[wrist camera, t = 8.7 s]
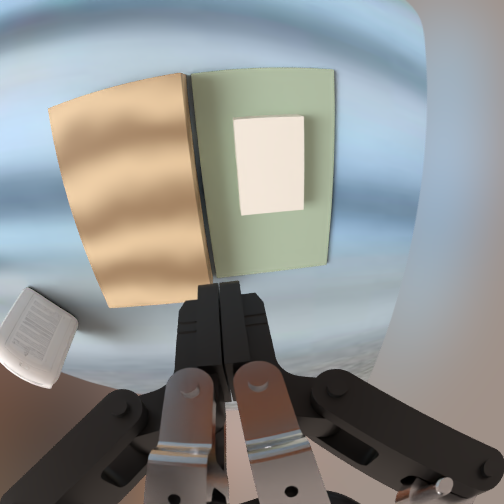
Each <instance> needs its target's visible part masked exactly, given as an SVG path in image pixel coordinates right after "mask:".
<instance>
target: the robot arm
mask: <svg viewBox="0 0 504 504" xmlns="http://www.w3.org/2000/svg"><path fill="white" fill-rule="evenodd" d="M219 287H220V291H219ZM177 333H178V334H177V342H176V356H175V370H174V374H173V375H172V376H171V377H170V378H169V380H168V382H167V384H166V385H165V386H163V387H162V388H160V389H158V390H156V391H153V392H150V393H147V394H144V395H140V396H138V395H137V394H136V393H134V392H132V391H130V390H126V389H119V390H115V391H113V392H111V393H109V394H108V395H107V396H106V397H105V398H104V399H103V400H102V401H101V402H100V403H98V404H97V405H96V406H95V407H94V408H93V409H92V410H91V411H90V412H89V413H88V414H87V415H86V416H85V417H84V418H83V419H82V420H81V421H80V422H79V423H78V424H77V425H76V426H75V427H74V428H73V429H72V430H70V432H68V433H67V434H66V435H65V436H64V437H63V438H62V439H61V440H60V441H59V442H58V443H57V444H56V445H55V446H54V447H53V448H52V449H51V450H50V451H49V452H48V453H47V454H46V455H45V456H43V457H42V459H40V460H39V461H38V462H37V463H36V464H35V465H34V466H33V467H32V468H31V469H30V470H29V471H28V472H27V473H26V474H25V475H24V476H23V477H22V478H21V479H20V480H19V481H18V482H17V483H15V484H14V485H13V486H12V487H11V488H10V489H9V490H8V491H7V492H6V493H5V494H4V495H3V496H2V498H1V501H0V504H118V503H119V502H120V501H121V500H122V499H123V498H124V497H125V496H126V495H127V494H128V493H129V491H131V490H132V489H133V488H134V486H136V484H137V483H138V482H139V481H140V480H141V479H142V478H143V477H144V476H145V475H146V483H145V494H144V504H229V484H228V483H229V482H228V476H227V468H226V413H225V412H226V411H225V402H232V401H231V393H232V397H233V401H237V405H238V410H239V415H240V419H241V424H242V429H243V433H244V438H245V442H246V447H247V452H248V457H249V461H250V466H251V470H252V474H253V478H254V482H255V487H256V491H257V495H258V498H256V499H254V500H250V501H248V502H244V503H241V504H360V503H358V502H357V501H355V500H353V499H351V498H349V497H347V496H345V495H342V494H339V493H336V492H332V491H327V490H326V489H325V486H324V483H323V480H322V477H321V474H320V471H319V469H318V466H317V463H316V460H315V457H314V454H313V451H312V449H311V446H310V443H309V442H308V440H307V438H306V437H305V436H307V437H308V438H310V439H311V440H312V441H314V442H315V443H317V444H318V445H320V446H321V447H323V448H324V449H326V450H327V451H329V452H331V453H332V454H334V455H335V456H337V457H338V458H340V459H341V460H343V461H345V462H346V463H348V464H350V465H351V466H353V467H355V468H356V469H358V470H360V471H361V472H363V473H365V474H366V475H368V476H370V477H372V478H373V479H375V480H377V481H379V482H381V483H383V484H385V485H386V486H388V487H390V488H392V489H394V490H396V491H398V493H397V495H396V499H395V504H473V502H474V500H475V498H476V496H477V495H479V494H481V493H483V492H486V491H488V490H490V489H492V488H494V487H495V486H496V485H497V484H498V483H499V482H500V480H501V478H502V476H503V474H504V458H503V456H502V454H501V453H500V452H499V451H498V450H497V449H495V448H492V447H490V446H488V445H486V444H484V443H482V442H479V441H477V440H475V439H473V438H471V437H469V436H467V435H465V434H463V433H460V432H458V431H456V430H454V429H452V428H450V427H448V426H446V425H444V424H443V423H440V422H439V421H437V420H434V419H433V418H431V417H429V416H427V415H425V414H423V413H421V412H419V411H417V410H416V409H414V408H412V407H410V406H408V405H406V404H404V403H403V402H401V401H399V400H397V399H395V398H393V397H392V396H390V395H388V394H386V393H385V392H383V391H381V390H379V389H377V388H376V387H374V386H372V385H370V384H369V383H367V382H365V381H363V380H362V379H360V378H358V377H357V376H355V375H353V374H351V373H350V372H348V371H345V370H341V369H331V370H327V371H325V372H323V373H321V374H320V375H319V376H317V378H313V377H303V376H296V375H293V374H290V373H288V372H286V371H285V370H284V369H282V368H281V367H280V365H279V364H278V362H277V360H276V357H275V352H274V348H273V343H272V339H271V335H270V330H269V326H268V321H267V317H266V312H265V308H264V303H263V301H262V300H261V299H260V298H259V296H258V295H257V294H256V293H249V294H241V291H240V284H239V281H230V282H222V283H219V285H218V283H214V284H204V285H198V296H197V299H196V300H186V301H185V302H184V304H183V306H182V307H181V309H180V310H179V317H178V329H177ZM230 389H231V391H230Z"/></svg>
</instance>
